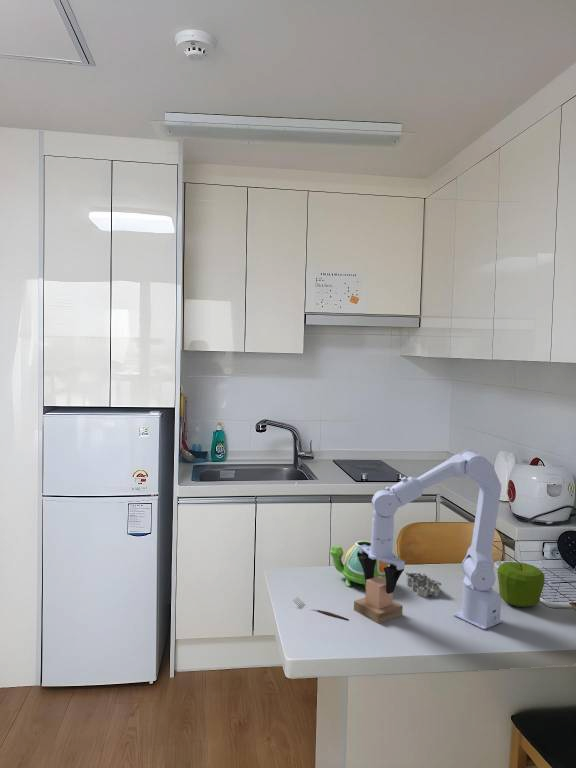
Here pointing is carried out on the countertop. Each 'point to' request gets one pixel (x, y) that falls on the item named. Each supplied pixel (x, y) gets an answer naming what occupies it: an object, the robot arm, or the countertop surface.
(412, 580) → the egg carton
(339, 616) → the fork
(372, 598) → the terracotta block
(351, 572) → the turtle holder
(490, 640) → the countertop surface
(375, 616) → the walnut block
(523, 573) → the apple
